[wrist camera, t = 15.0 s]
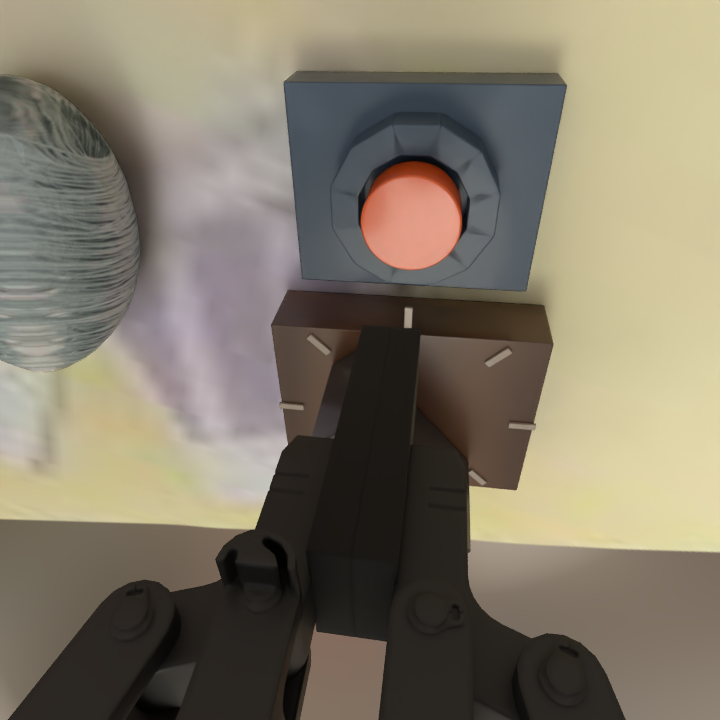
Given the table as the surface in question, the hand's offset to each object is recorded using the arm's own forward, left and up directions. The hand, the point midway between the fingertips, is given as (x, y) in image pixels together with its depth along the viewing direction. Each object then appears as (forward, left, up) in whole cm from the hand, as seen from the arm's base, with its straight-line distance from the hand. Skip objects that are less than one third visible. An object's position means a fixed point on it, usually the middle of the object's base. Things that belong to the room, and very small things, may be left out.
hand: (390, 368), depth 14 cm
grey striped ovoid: (-18, -2, -14) cm, 23 cm away
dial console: (0, -12, -14) cm, 18 cm away
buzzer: (0, 0, -14) cm, 14 cm away
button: (0, 0, -11) cm, 11 cm away
